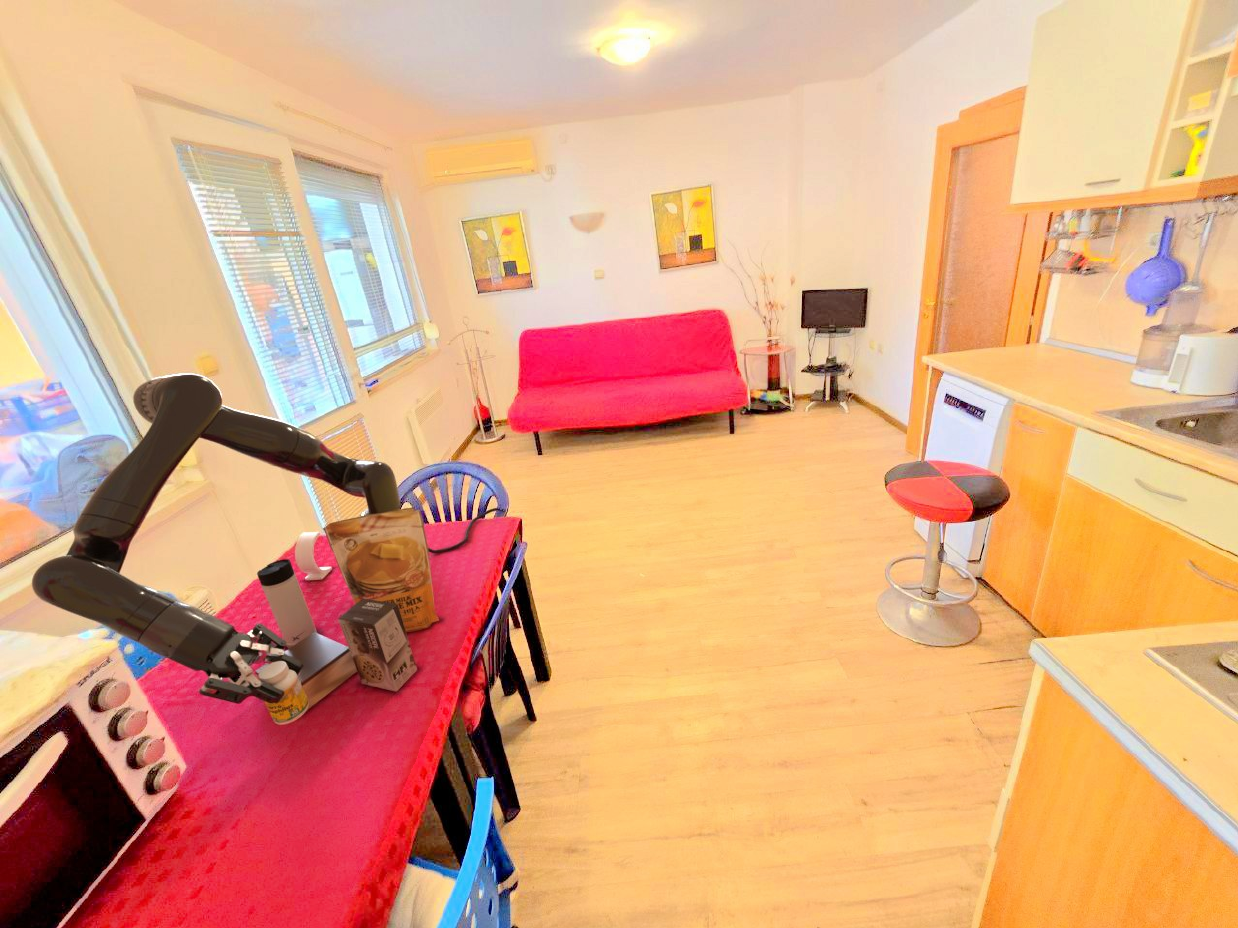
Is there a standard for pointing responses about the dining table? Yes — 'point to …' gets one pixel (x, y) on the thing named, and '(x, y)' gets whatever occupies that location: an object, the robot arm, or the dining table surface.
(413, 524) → the pancake mix bag
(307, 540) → the headphone stand
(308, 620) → the travel mug
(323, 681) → the stand
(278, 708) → the supplement bottle
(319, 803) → the dining table surface
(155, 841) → the dining table surface
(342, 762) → the dining table surface
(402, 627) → the coffee box
